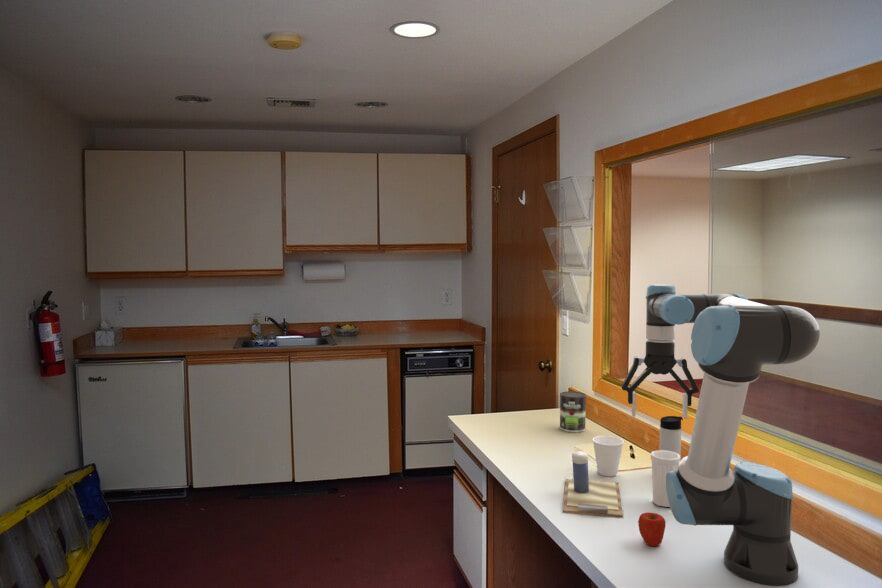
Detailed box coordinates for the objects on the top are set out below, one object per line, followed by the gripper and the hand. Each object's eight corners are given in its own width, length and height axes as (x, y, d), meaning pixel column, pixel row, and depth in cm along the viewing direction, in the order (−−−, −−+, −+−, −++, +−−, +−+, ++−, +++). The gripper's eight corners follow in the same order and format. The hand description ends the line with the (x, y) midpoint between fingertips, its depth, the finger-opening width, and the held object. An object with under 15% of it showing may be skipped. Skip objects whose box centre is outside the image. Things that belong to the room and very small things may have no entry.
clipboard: (622, 517, 171) (623, 511, 171) (562, 512, 174) (562, 506, 174) (618, 484, 194) (618, 478, 194) (565, 480, 198) (565, 474, 198)
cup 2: (660, 511, 175) (661, 460, 174) (643, 499, 183) (644, 451, 181) (685, 507, 177) (686, 458, 176) (667, 496, 185) (669, 448, 184)
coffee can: (584, 433, 246) (585, 398, 245) (558, 431, 249) (558, 396, 248) (586, 426, 256) (587, 392, 255) (561, 424, 259) (561, 390, 258)
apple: (633, 543, 156) (634, 514, 155) (645, 535, 160) (646, 507, 160) (657, 552, 151) (658, 522, 151) (669, 543, 156) (670, 514, 155)
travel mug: (682, 483, 195) (684, 420, 193) (660, 482, 196) (661, 419, 194) (679, 476, 201) (680, 414, 199) (657, 474, 202) (659, 413, 200)
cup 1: (588, 476, 201) (588, 442, 201) (596, 466, 210) (596, 433, 209) (619, 481, 197) (620, 446, 196) (626, 471, 206) (626, 438, 205)
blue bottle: (586, 494, 184) (584, 458, 183) (571, 491, 187) (569, 456, 185) (591, 488, 188) (590, 452, 186) (577, 485, 191) (575, 450, 189)
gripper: (705, 339, 175) (703, 415, 176) (612, 337, 180) (611, 411, 181) (711, 343, 168) (709, 421, 169) (614, 341, 173) (613, 417, 174)
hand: (658, 416), depth 175 cm, fingers open, 13 cm apart
